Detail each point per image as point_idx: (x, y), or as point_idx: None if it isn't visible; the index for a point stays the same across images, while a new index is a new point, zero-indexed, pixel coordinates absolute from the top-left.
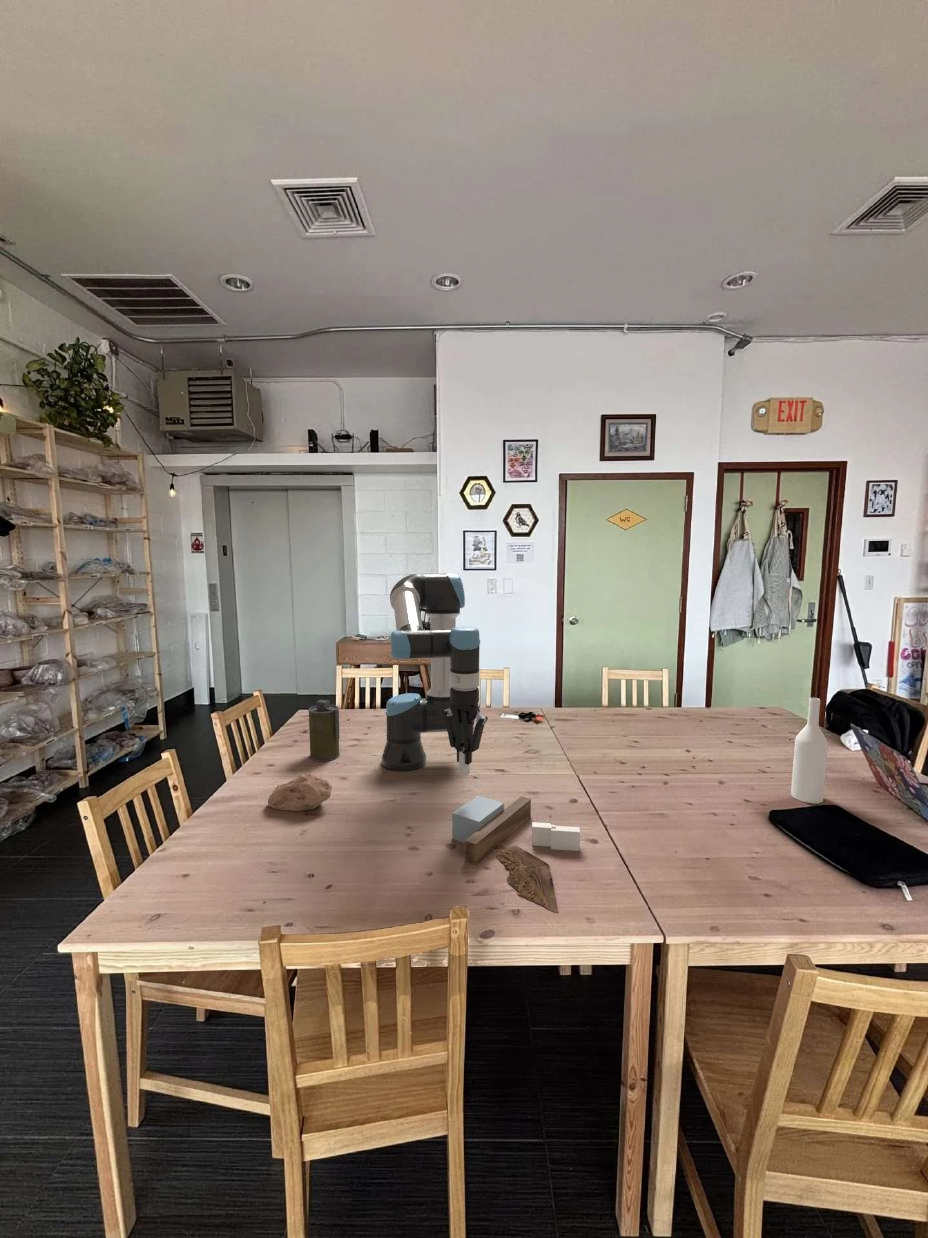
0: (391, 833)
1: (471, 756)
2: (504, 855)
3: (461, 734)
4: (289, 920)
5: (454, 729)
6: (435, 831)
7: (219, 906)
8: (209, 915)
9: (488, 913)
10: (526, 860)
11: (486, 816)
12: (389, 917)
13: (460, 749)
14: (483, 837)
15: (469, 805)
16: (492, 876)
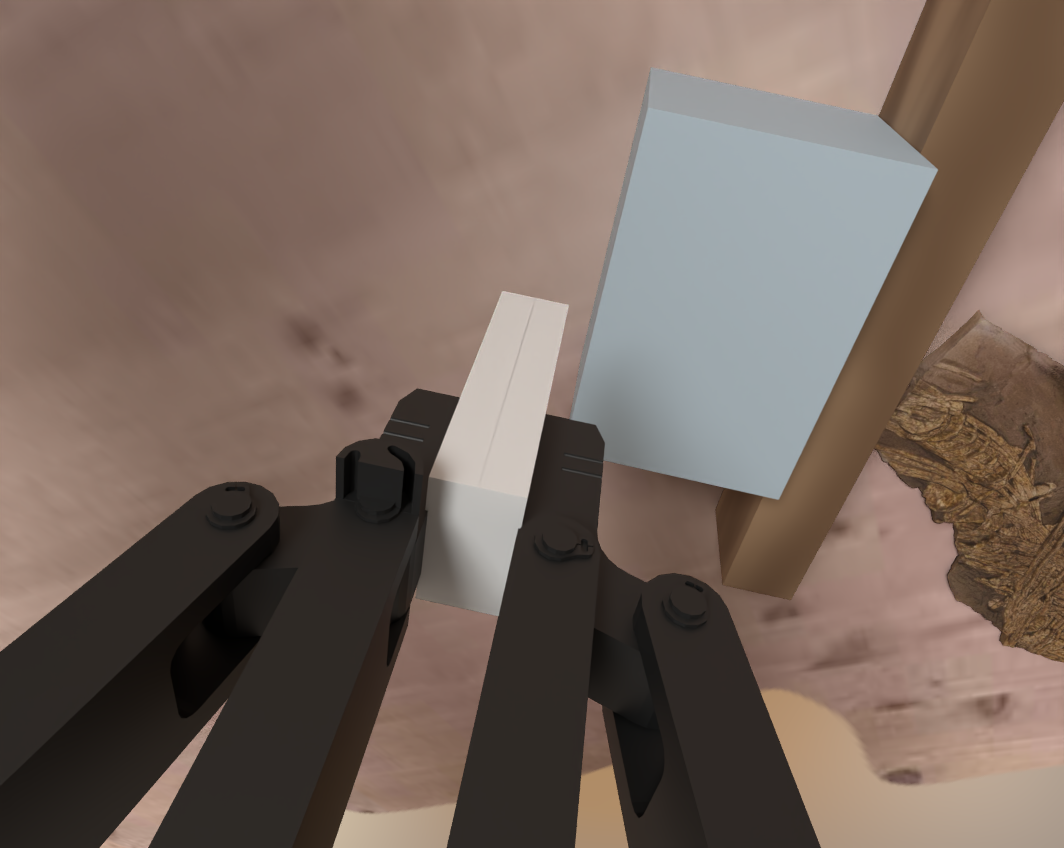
0: (268, 412)
1: (597, 500)
2: (921, 441)
3: (322, 846)
4: (356, 806)
5: (33, 816)
6: (455, 323)
7: (174, 796)
8: None
9: (888, 723)
10: (1055, 441)
11: (813, 425)
12: (584, 772)
13: (410, 594)
14: (820, 541)
15: (637, 317)
16: (873, 570)
